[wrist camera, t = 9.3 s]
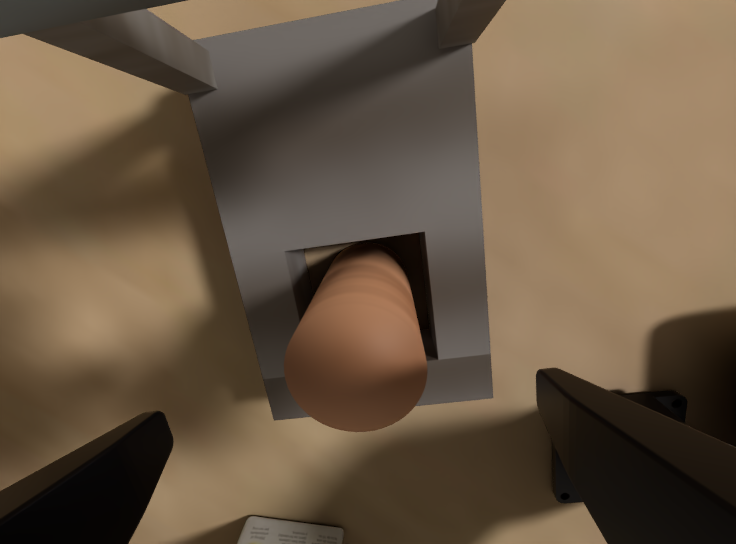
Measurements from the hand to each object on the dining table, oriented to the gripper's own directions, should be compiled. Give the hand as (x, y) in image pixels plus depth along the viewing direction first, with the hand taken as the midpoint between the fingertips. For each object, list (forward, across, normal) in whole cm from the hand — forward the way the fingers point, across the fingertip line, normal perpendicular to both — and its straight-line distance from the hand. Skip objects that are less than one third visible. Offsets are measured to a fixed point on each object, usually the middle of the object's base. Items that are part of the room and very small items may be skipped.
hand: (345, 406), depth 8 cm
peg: (+10, 0, 0) cm, 10 cm away
